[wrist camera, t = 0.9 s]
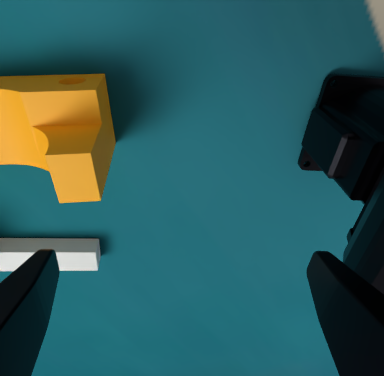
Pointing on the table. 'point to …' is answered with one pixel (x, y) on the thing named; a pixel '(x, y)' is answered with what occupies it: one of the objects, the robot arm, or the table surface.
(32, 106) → the pipe clamp
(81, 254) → the collar track
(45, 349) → the table surface
